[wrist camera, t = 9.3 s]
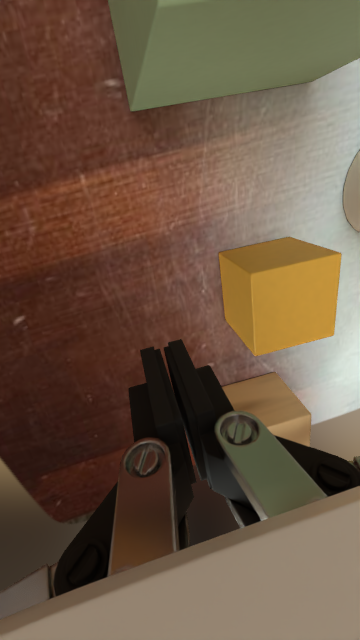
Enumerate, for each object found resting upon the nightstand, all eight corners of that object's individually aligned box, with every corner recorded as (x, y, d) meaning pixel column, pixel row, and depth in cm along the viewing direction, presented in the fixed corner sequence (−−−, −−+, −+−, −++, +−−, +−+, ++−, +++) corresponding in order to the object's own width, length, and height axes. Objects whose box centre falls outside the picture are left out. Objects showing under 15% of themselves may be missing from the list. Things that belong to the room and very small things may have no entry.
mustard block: (288, 304, 22) (334, 335, 17) (225, 320, 21) (254, 357, 17) (289, 236, 19) (342, 252, 15) (217, 252, 19) (250, 274, 14)
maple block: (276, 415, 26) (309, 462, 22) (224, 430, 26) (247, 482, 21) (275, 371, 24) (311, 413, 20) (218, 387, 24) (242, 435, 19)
